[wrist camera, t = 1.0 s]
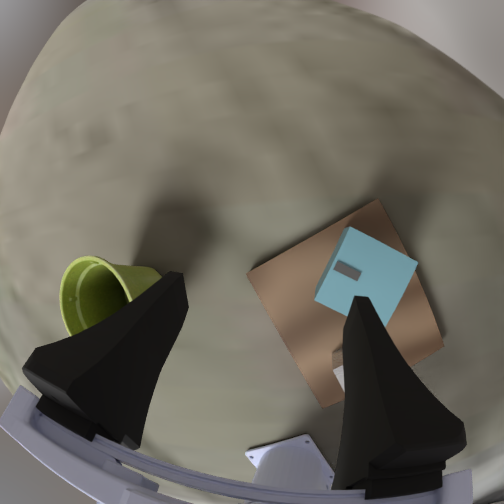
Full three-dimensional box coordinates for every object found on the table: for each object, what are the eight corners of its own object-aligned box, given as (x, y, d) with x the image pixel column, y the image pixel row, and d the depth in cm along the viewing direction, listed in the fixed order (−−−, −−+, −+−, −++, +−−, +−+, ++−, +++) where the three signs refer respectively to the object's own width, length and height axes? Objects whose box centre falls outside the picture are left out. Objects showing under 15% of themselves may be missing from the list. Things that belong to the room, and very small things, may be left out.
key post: (356, 366, 23) (360, 385, 20) (342, 373, 23) (344, 392, 20) (346, 345, 23) (349, 362, 20) (331, 352, 24) (332, 369, 20)
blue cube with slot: (399, 257, 22) (418, 262, 17) (370, 314, 23) (382, 333, 18) (344, 228, 23) (350, 226, 18) (315, 286, 24) (314, 300, 19)
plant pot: (178, 243, 28) (123, 247, 19) (195, 336, 28) (149, 370, 20) (109, 256, 30) (52, 263, 22) (125, 336, 30) (73, 361, 22)
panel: (439, 341, 22) (444, 346, 21) (322, 402, 25) (322, 408, 24) (375, 199, 23) (378, 198, 22) (249, 271, 26) (245, 273, 25)
